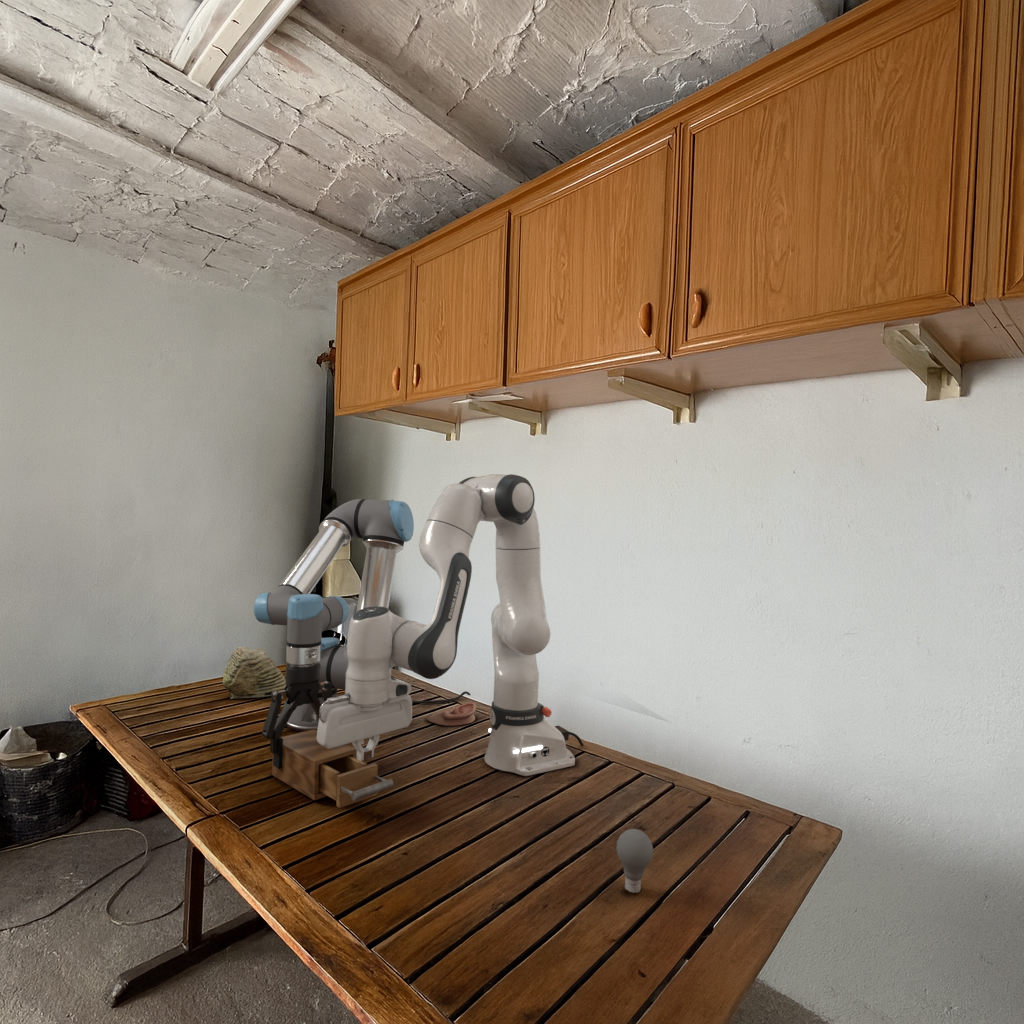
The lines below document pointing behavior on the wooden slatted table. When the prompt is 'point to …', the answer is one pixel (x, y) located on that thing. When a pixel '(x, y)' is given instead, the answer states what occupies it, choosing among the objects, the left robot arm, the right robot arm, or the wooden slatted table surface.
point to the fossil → (252, 674)
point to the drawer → (350, 780)
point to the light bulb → (634, 857)
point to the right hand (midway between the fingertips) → (365, 758)
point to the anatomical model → (455, 715)
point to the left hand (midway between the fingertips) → (300, 760)
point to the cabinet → (307, 762)
